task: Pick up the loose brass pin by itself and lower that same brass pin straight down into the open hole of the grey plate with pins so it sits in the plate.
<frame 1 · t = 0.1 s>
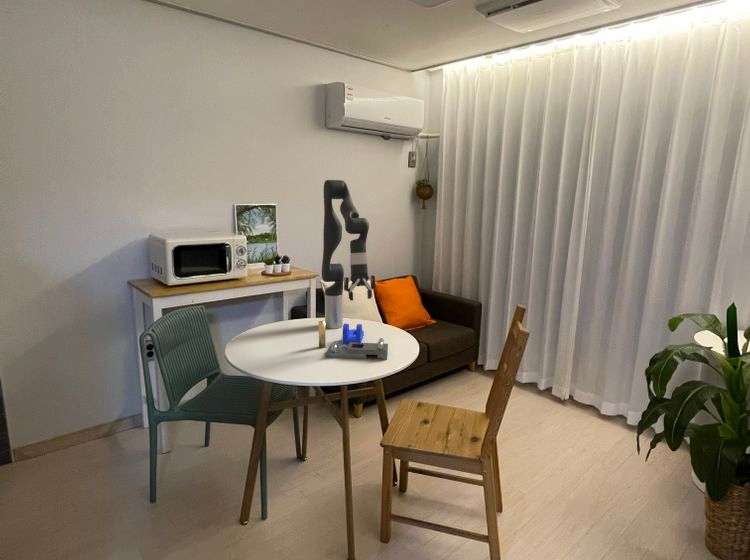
hand: (360, 299, 196), 22 cm above the table, tool pointing down, fingers open, 8 cm apart
bracket: (354, 339, 213), on the table
pin: (322, 347, 200), on the table
grey plate with pins: (357, 354, 191), on the table
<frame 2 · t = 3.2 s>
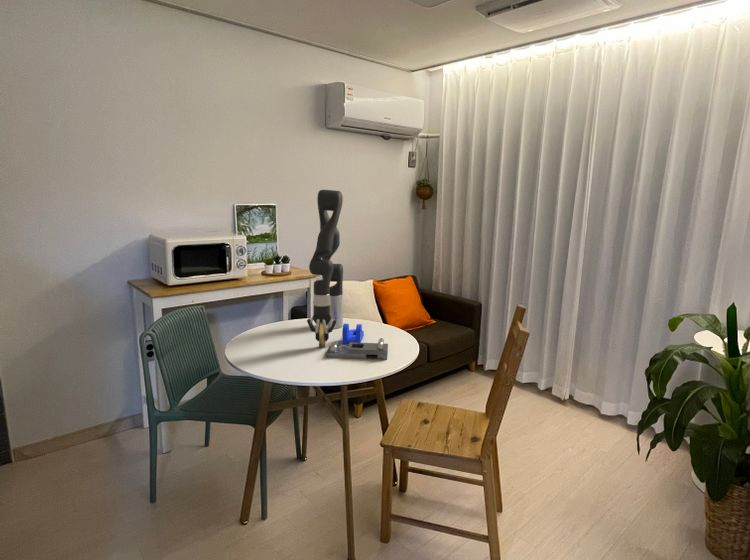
hand: (322, 340, 200), 3 cm above the table, tool pointing down, fingers closed on pin, 3 cm apart
pin: (322, 347, 200), on the table, touching gripper
everything else where it was.
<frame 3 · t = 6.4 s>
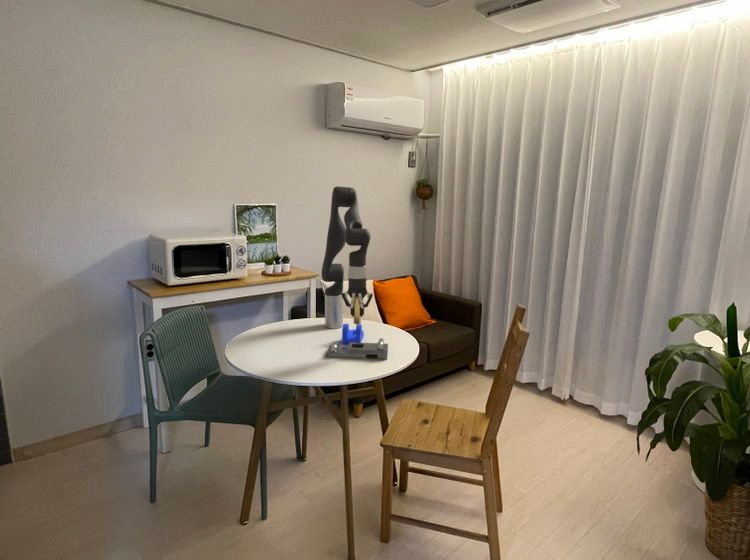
hand: (357, 316, 188), 17 cm above the table, tool pointing down, fingers closed on pin, 3 cm apart
pin: (357, 323, 188), point 14 cm above the table, touching gripper
everything else where it was.
when the fingers open (5 cm above the table, at t = 9.3 s): pin drops 2 cm, resting in grey plate with pins.
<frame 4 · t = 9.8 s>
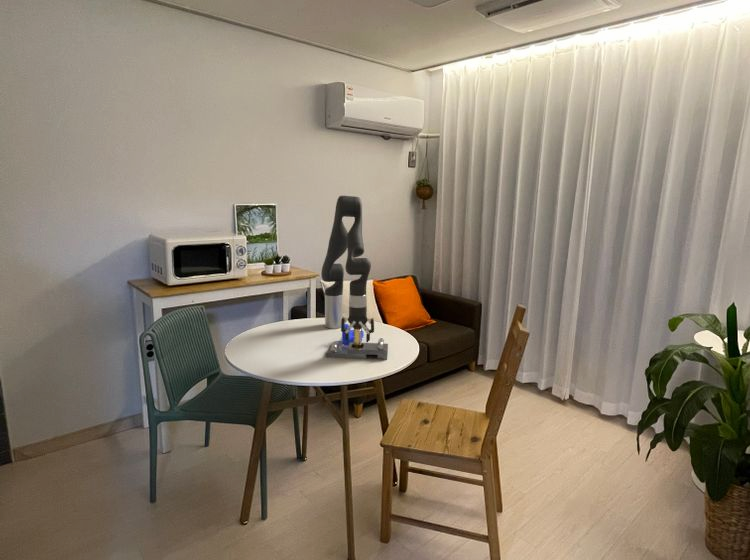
hand: (357, 341, 190), 6 cm above the table, tool pointing down, fingers open, 8 cm apart
pin: (357, 354, 191), resting in grey plate with pins
everything else where it was.
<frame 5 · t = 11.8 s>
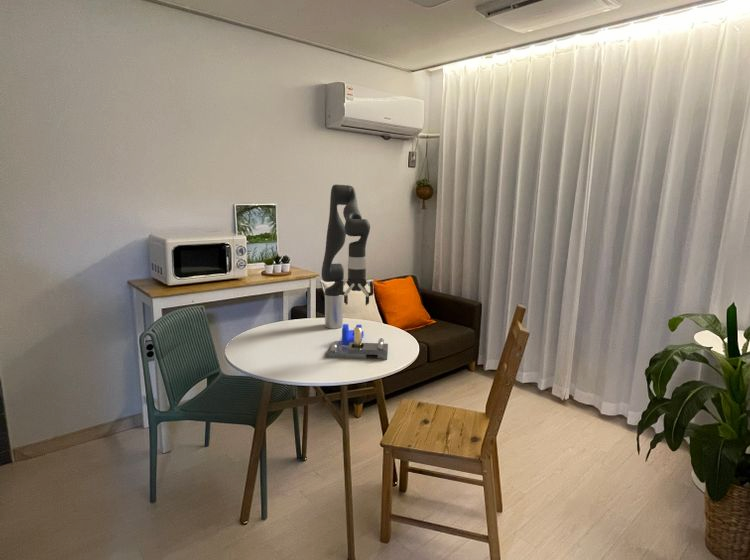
hand: (356, 304, 188), 22 cm above the table, tool pointing down, fingers open, 8 cm apart
nothing on the table moved.
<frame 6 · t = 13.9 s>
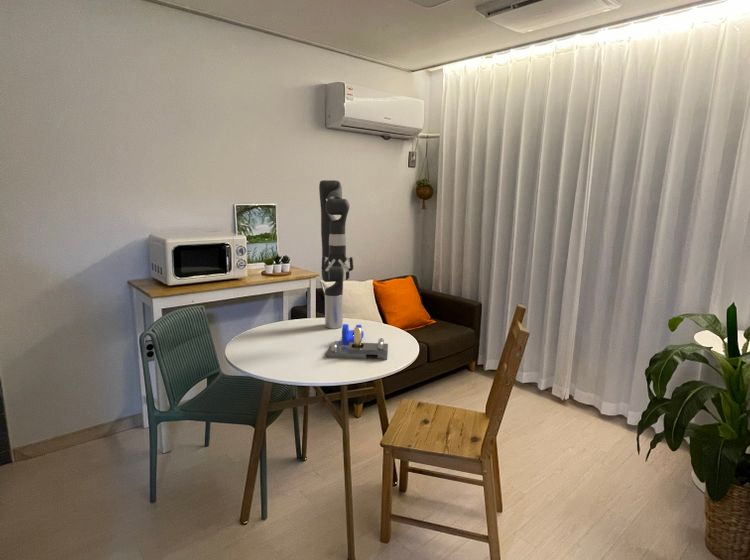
hand: (337, 279, 201), 30 cm above the table, tool pointing down, fingers open, 8 cm apart
nothing on the table moved.
at the end: pin 0.1 cm off-centre on the grey plate with pins, point 0.0 cm above the grey plate with pins's base; pin tilted 0°; the gripper is holding nothing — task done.
